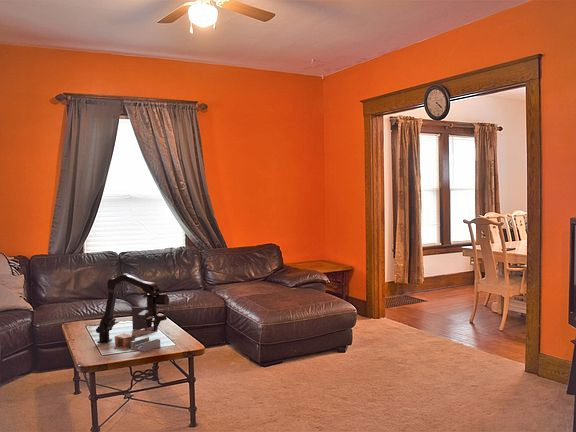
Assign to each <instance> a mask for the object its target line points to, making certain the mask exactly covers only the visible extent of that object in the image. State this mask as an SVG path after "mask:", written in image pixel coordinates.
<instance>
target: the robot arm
mask: <svg viewBox="0 0 576 432" xmlns="http://www.w3.org/2000/svg"><path fill="white" fill-rule="evenodd" d="M125 282H126V283H128V284H131V285H133V286H136V287H138V288H140V289H141V290H142V291H143V292H144V295H143V296H142V297H143V298H146V306H144V307H145V310H144V311H142V312H141V313H139V314H138V318H140V319H142V320H144V321H145V322H146V324H147V326H148V327H151V326H154V332H155V331H156V330H157V328H158V327H159V326H160V324H161V322H162V321H166V320H167V318H168V317H167V316H168V315H166V314H163V313H161V314H159V312H158V309H159V306H169V304H170V298H169V297H170V296H169V295H168V293H162V291H161V289H160V288H159V286H158V283H157V282H154V281H146V280H143V279H141V278H138V277H136V276H133V275H131V274H129V273H127V272H126V273H123V274H121V275H119V276H117V277H114V278H110V279H108V280H107V282H106V290H107V292H108V294H107V299H106V304H105V310H104V314H103V316H102V318H101V319H100V322H99V325H98V326H97V327H96V328H95V332H96V334H99V335H98V337H99V339H98V341H96V343H97V344H99V343H100V344H108V343H109V342H111V341H112V339H110V331H112V329H113V327H114V326H115V325H116V317H115V318H114V310H115V305H116V299H117V296H118V292H119V290H120V289H121V287H122V284H123V283H125ZM158 329H159V328H158ZM155 333H156V332H155Z"/></svg>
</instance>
